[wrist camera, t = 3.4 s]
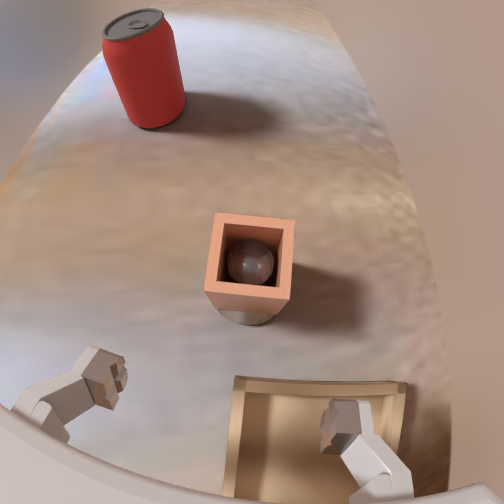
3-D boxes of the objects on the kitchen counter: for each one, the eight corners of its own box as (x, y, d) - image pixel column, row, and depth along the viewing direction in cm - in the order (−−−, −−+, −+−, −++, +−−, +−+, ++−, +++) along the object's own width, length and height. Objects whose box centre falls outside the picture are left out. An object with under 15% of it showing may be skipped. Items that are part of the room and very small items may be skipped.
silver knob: (286, 328, 23) (299, 320, 17) (203, 319, 23) (190, 309, 18) (292, 249, 25) (305, 219, 19) (214, 242, 25) (205, 209, 20)
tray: (365, 517, 17) (377, 531, 15) (220, 520, 18) (218, 537, 15) (389, 380, 22) (407, 382, 19) (235, 375, 22) (234, 378, 19)
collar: (276, 315, 23) (289, 299, 16) (215, 308, 23) (203, 290, 16) (281, 257, 24) (294, 220, 18) (223, 251, 24) (215, 212, 18)
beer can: (155, 140, 29) (122, 47, 17) (118, 117, 30) (83, 35, 18) (199, 103, 30) (185, 11, 19) (160, 84, 32) (139, 2, 20)
